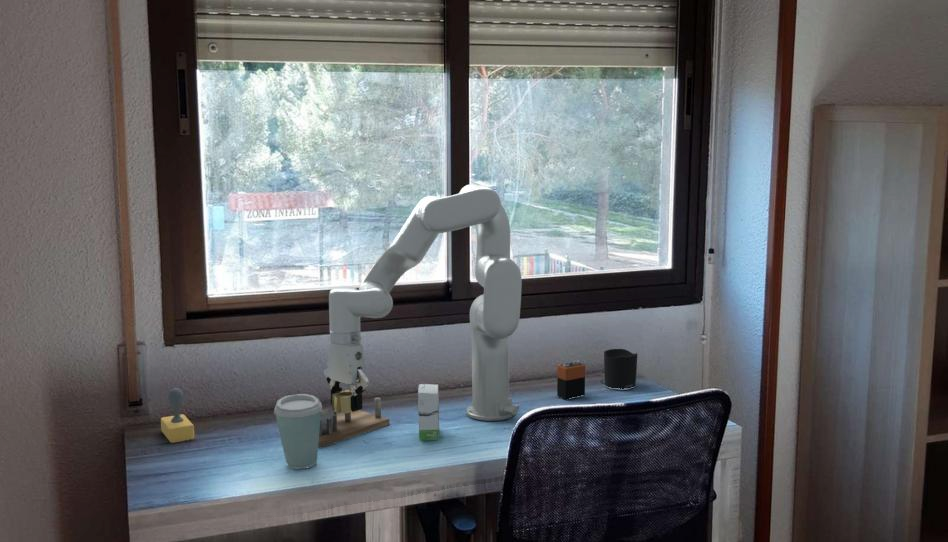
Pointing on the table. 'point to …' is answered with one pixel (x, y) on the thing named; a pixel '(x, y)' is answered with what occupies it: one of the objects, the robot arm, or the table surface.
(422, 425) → the ink box
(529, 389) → the table surface
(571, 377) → the battery
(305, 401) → the disposable coffee cup
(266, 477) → the table surface
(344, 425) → the gear board
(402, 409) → the table surface
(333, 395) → the brass gear
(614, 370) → the pen holder
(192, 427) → the rubber stamp
